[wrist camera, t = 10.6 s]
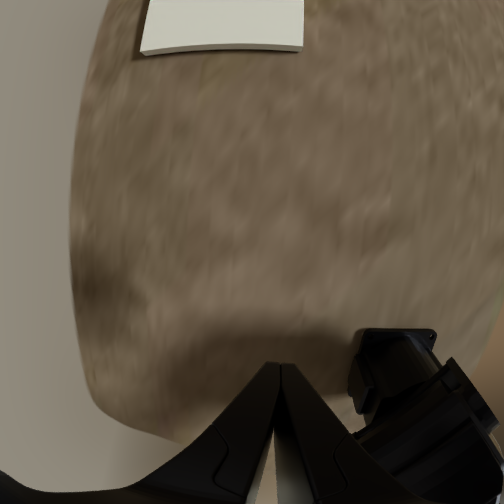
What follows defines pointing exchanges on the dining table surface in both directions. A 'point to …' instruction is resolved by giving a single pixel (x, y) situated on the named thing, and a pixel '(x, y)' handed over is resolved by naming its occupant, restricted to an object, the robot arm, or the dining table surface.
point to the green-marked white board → (222, 25)
